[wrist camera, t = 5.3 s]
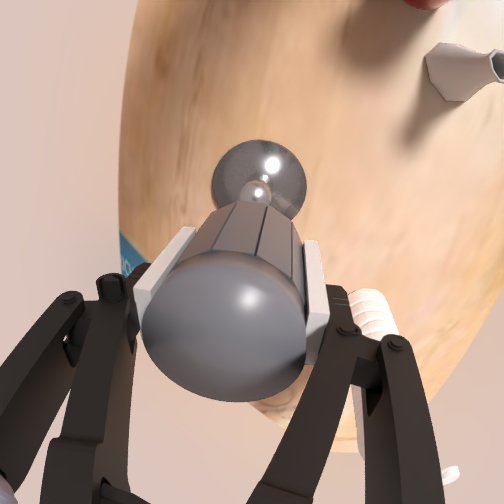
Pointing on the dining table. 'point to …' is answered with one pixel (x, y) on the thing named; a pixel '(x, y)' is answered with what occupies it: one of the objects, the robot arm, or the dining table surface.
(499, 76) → the flask
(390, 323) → the water bottle
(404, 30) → the dining table surface
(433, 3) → the soda can
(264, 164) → the round base
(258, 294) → the grey domed cylinder
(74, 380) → the robot arm
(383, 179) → the dining table surface
